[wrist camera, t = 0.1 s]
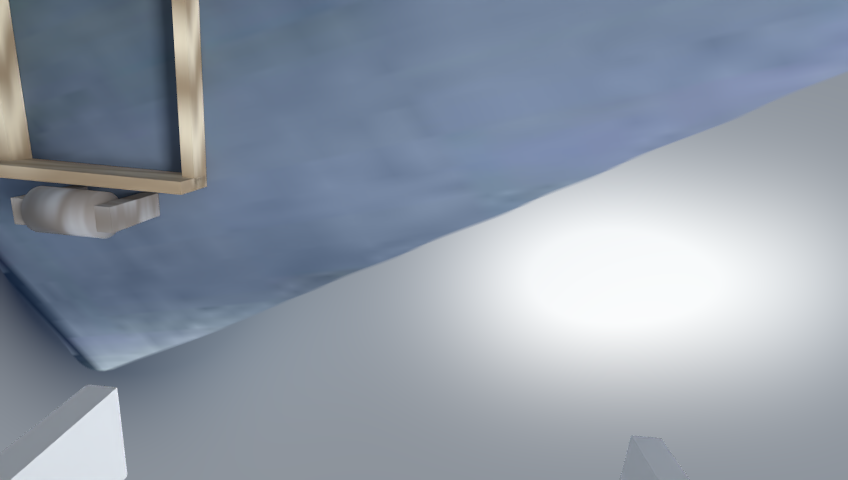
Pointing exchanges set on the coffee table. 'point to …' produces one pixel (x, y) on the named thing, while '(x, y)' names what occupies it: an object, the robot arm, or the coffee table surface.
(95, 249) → the coffee table surface
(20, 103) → the wooden frame
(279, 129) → the coffee table surface
